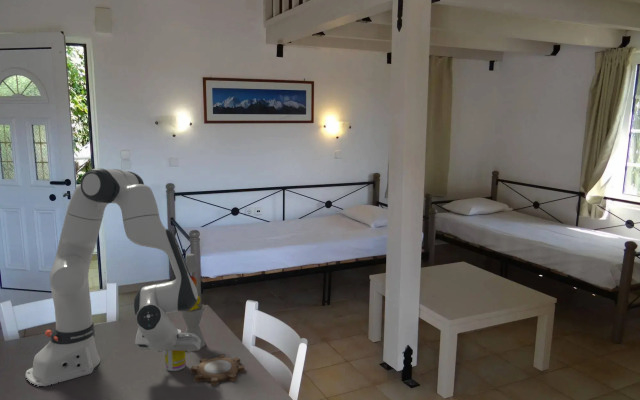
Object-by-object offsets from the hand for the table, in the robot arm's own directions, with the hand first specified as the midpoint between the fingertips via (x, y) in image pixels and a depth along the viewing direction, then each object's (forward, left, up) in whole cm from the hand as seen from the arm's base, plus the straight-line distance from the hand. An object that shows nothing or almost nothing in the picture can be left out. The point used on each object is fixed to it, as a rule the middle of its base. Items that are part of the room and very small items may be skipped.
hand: (174, 350), depth 169 cm
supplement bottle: (0, 0, -7) cm, 7 cm away
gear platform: (+8, -13, -6) cm, 16 cm away
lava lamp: (+14, +10, -7) cm, 19 cm away
